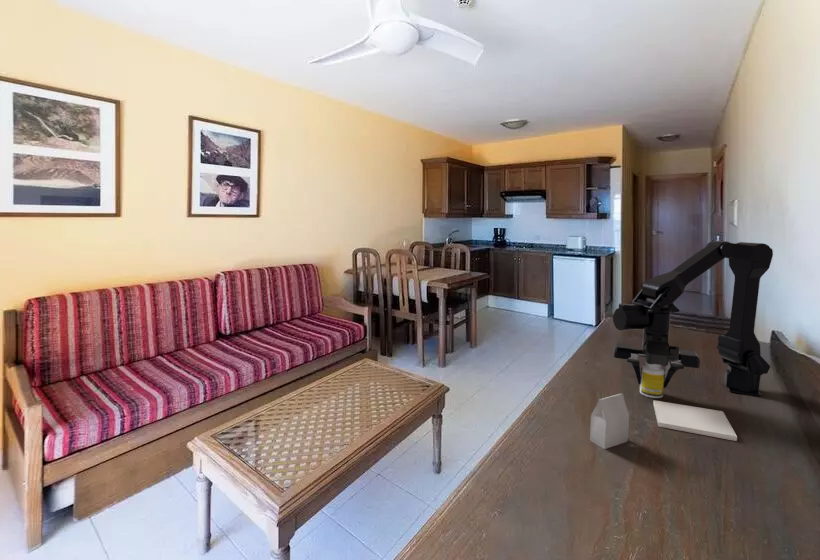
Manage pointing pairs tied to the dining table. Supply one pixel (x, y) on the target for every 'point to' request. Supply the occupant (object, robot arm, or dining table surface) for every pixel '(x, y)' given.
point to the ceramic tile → (693, 420)
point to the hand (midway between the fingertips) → (651, 385)
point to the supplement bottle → (652, 380)
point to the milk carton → (609, 422)
